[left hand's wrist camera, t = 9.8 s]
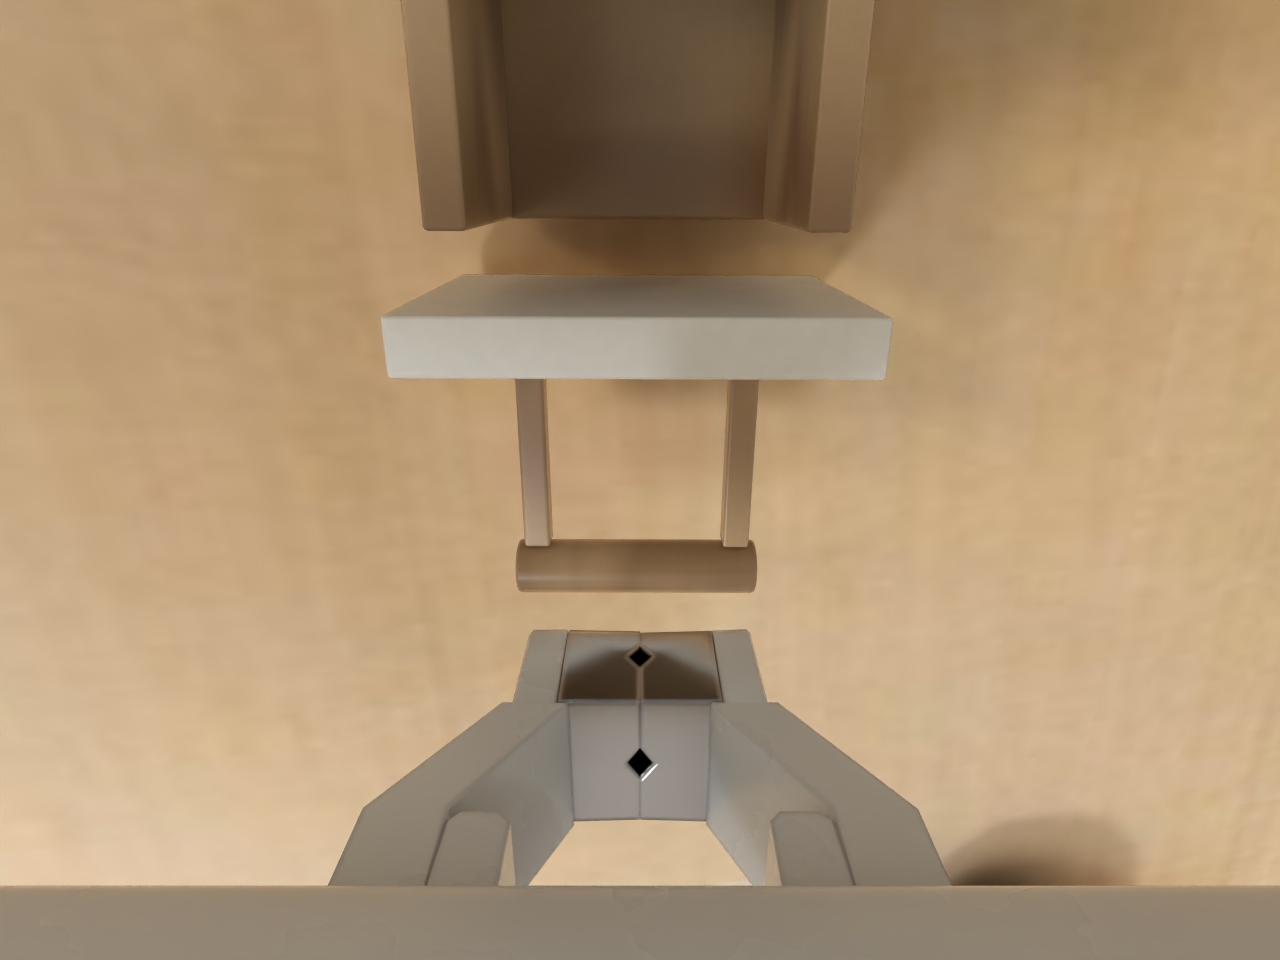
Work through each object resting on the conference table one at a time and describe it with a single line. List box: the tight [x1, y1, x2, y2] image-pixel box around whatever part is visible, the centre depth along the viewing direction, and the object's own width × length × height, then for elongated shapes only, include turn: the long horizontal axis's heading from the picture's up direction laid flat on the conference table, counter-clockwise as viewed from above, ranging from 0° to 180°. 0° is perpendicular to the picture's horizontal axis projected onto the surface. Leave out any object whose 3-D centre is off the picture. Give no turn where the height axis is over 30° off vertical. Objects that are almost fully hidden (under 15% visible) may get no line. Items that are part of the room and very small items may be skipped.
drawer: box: [381, 0, 893, 593], centre depth 15 cm, size 24×10×7 cm, turn 0°
